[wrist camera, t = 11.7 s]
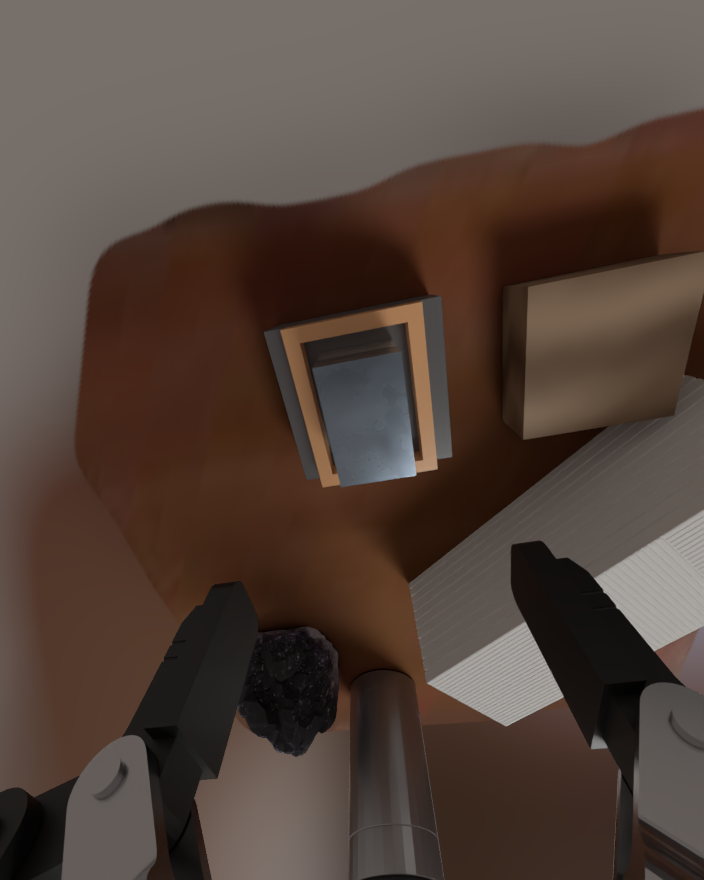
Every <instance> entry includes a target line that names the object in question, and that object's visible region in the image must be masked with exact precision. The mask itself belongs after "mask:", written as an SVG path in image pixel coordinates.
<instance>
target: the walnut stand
mask: <svg viewBox="0 0 704 880" xmlns="http://www.w3.org/2000/svg"><path fill="white" fill-rule="evenodd" d="M703 293H704V251H694V252H685V253H675V254H665V255H657V256H652V257H647V258H642V259H637V260H632V261H627V262H622V263H617V264H612V265H607V266H602V267H598V268H593V269H588V270H583V271H578V272H573V273H568V274H563V275H558V276H553V277H548V278H543V279H538V280H533V281H528V282H523V283H518V284H513V285H509V286H504V287H503V390H502V421H503V422H504V423H505V424H506V425H508V426H509V427H510V428H511V429H512V430H513V431H514V432H515V433H516V434H517V435H518V436H519V437H521V438H522V439H523V440H526V439H532V438H538V437H544V436H550V435H557V434H563V433H569V432H575V431H582V430H588V429H594V428H600V427H606V426H613V425H619V424H625V423H631V422H637V421H644V420H650V419H656V418H662V417H668V416H674V414H675V410H676V406H677V401H678V397H679V393H680V389H681V385H682V381H683V376H684V372H685V368H686V364H687V360H688V356H689V351H690V347H691V343H692V339H693V335H694V331H695V326H696V322H697V318H698V314H699V310H700V306H701V301H702V297H703Z"/></svg>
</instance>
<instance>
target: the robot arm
mask: <svg viewBox="0 0 704 880" xmlns="http://www.w3.org/2000/svg"><path fill="white" fill-rule="evenodd" d="M511 589H512V593H513V596H514V599H515V602H516V604H517V606H518V608H519V610H520V612H521V614H522V616H523V618H524V620H525V622H526V624H527V626H528V628H529V630H530V632H531V634H532V636H533V638H534V640H535V641H536V643H537V645H538V647H539V649H540V651H541V653H542V655H543V657H544V659H545V661H546V663H547V665H548V667H549V669H550V671H551V673H552V675H553V677H554V679H555V681H556V683H557V684H558V686H559V688H560V690H561V692H562V694H563V696H564V698H565V700H566V702H567V704H568V706H569V708H570V710H571V712H572V714H573V716H574V718H575V720H576V721H577V723H578V725H579V728H580V729H581V731H582V733H583V735H584V737H585V739H586V741H587V743H588V745H589V747H590V749H599V748H608V749H609V750H610V752H611V754H612V756H613V758H614V760H615V761H616V763H617V765H618V767H619V772H618V788H617V808H616V827H615V848H614V867H613V880H704V696H703V695H702V694H700V693H698V692H696V691H694V690H692V689H690V688H687V687H685V686H684V685H683V684H682V683H681V682H680V681H679V680H678V679H677V678H676V677H675V676H674V675H673V674H672V672H671V671H670V670H669V669H668V668H667V666H666V665H665V664H664V663H663V662H662V660H661V659H660V658H659V657H658V656H657V654H656V653H655V652H654V651H653V649H652V648H651V647H650V646H649V645H648V643H647V642H646V641H645V640H644V639H643V637H642V636H641V635H640V634H639V632H638V631H637V630H636V629H635V628H634V626H633V625H632V624H631V623H630V622H629V620H628V619H627V618H626V617H625V615H624V614H623V613H622V612H621V611H620V609H617V607H616V605H615V603H614V602H613V601H612V600H611V598H610V597H609V596H608V595H607V594H606V593H604V591H603V589H602V588H601V586H600V585H599V584H598V583H597V581H596V580H595V579H594V578H593V577H592V575H591V574H590V573H589V572H588V571H587V570H585V569H584V568H583V567H581V566H580V565H578V564H577V563H575V562H574V561H572V560H571V559H569V558H568V557H566V558H559V559H556V558H555V556H554V555H553V554H552V552H551V551H550V550H549V548H548V547H547V546H546V544H545V543H544V542H542V541H540V540H539V541H531V542H524V543H517V544H512V546H511ZM257 634H258V617H257V614H256V611H255V609H254V607H253V605H252V603H251V600H250V598H249V596H248V594H247V592H246V590H245V587H244V585H243V584H242V582H240V581H237V582H229V583H222V584H215V585H214V586H212V588H211V589H210V591H209V593H208V595H207V597H206V599H205V601H204V604H203V605H199V606H196V607H195V609H194V610H193V611H192V612H191V613H190V614H189V615H188V617H187V618H186V619H185V620H184V621H183V622H182V624H181V626H180V628H179V630H178V632H177V633H176V636H175V637H174V639H173V642H172V646H170V647H169V649H168V651H167V653H166V655H165V657H164V662H162V663H161V665H160V666H159V669H158V670H157V672H156V674H155V676H154V678H153V680H152V682H151V684H150V686H149V688H148V690H147V692H146V694H145V696H144V698H143V700H142V701H141V703H140V705H139V707H138V709H137V711H136V713H135V715H134V717H133V719H132V721H131V723H130V725H129V726H128V728H127V730H126V732H125V733H124V735H123V736H122V737H121V738H119V739H117V740H115V741H113V742H112V743H110V744H109V745H107V746H106V747H105V748H104V749H102V750H101V751H100V752H99V753H98V754H97V755H96V756H95V757H94V758H93V759H92V760H91V762H90V763H89V764H88V765H87V767H86V768H85V769H84V771H83V772H82V773H81V775H80V776H78V777H76V778H74V779H72V780H70V781H67V782H65V783H63V784H61V785H59V786H57V787H55V788H53V789H51V790H49V791H47V792H45V793H43V794H40V795H38V796H36V797H33V796H31V795H30V794H29V793H27V792H26V791H25V790H23V789H21V788H11V789H7V790H5V791H3V792H0V880H212V879H211V874H210V869H209V864H208V859H207V854H206V849H205V844H204V840H203V834H202V829H201V824H200V820H199V815H198V810H197V805H196V802H195V800H194V797H195V794H196V790H197V787H198V784H199V781H200V780H206V779H217V778H218V774H219V771H220V767H221V764H222V760H223V756H224V753H225V749H226V746H227V742H228V739H229V735H230V732H231V728H232V724H233V721H234V717H235V714H236V710H237V707H238V703H239V699H240V696H241V692H242V689H243V685H244V681H245V678H246V674H247V671H248V667H249V664H250V660H251V656H252V653H253V649H254V646H255V642H256V639H257ZM349 756H350V757H349V834H348V839H349V840H348V841H349V847H348V848H349V849H348V880H444V875H443V868H442V862H441V854H440V848H439V841H438V835H437V829H436V823H435V815H434V809H433V802H432V795H431V789H430V782H429V775H428V768H427V762H426V755H425V748H424V742H423V736H422V729H421V722H420V714H419V708H418V701H417V695H416V688H415V684H414V682H413V681H412V680H411V679H410V678H409V677H408V676H406V675H405V674H402V673H400V672H396V671H390V670H377V671H371V672H368V673H365V674H363V675H361V676H359V677H358V678H356V679H355V680H354V682H353V683H352V685H351V696H350V755H349Z"/></svg>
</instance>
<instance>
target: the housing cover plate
mask: <svg viewBox="0 0 704 880" xmlns="http://www.w3.org/2000/svg"><path fill="white" fill-rule="evenodd" d="M312 370H313V374H314V378H315V382H316V386H317V391H318V395H319V399H320V403H321V407H322V411H323V415H324V420H325V424H326V428H327V432H328V436H329V440H330V445H331V449H332V453H333V457H334V461H335V465H336V469H337V474H338V478H339V482H340V486H341V487H346V486H352V485H358V484H365V483H371V482H378V481H384V480H391V479H397V478H404V477H410V476H417V475H416V467H415V459H414V451H413V443H412V435H411V426H410V418H409V410H408V402H407V394H406V386H405V378H404V369H403V361H402V353H401V350H400V349H399V348H398V346H392V347H386V348H381V349H376V350H371V351H365V352H360V353H355V354H350V355H344V356H339V357H334V358H329V359H323V360H318V361H316V362H315V364H314V366H313V368H312Z"/></svg>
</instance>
